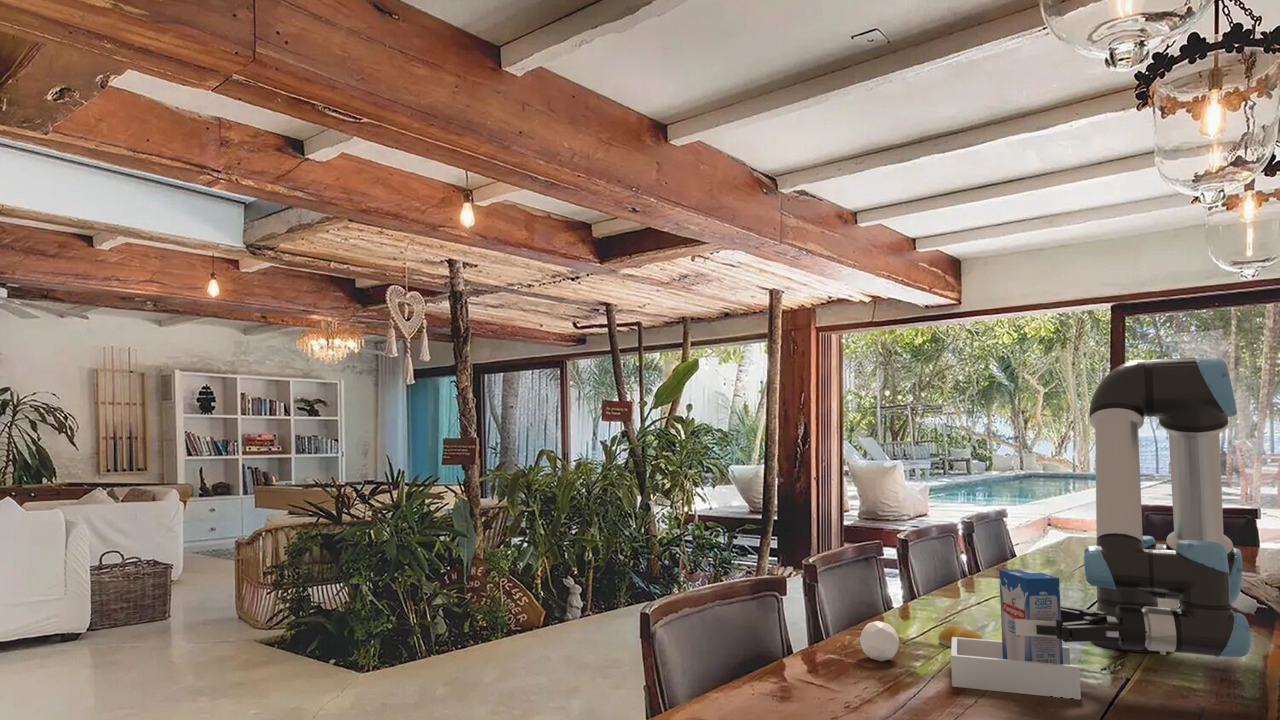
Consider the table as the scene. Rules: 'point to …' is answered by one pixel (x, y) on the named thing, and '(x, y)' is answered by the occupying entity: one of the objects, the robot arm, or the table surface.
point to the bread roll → (956, 635)
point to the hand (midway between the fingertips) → (1012, 618)
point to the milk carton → (1029, 614)
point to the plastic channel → (1010, 671)
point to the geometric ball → (879, 641)
